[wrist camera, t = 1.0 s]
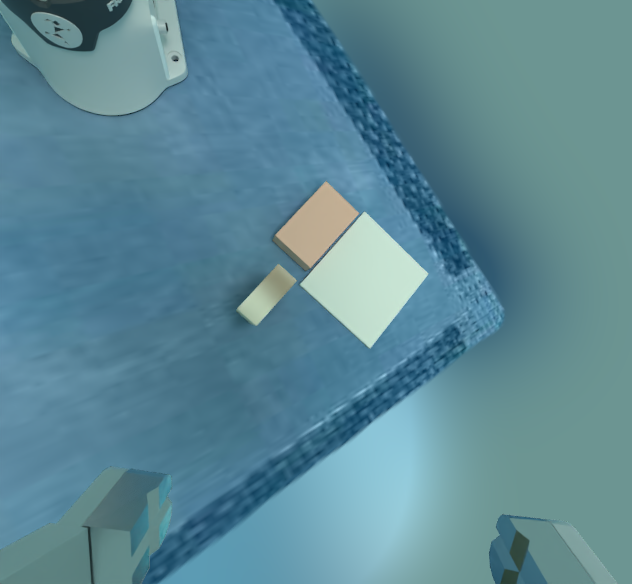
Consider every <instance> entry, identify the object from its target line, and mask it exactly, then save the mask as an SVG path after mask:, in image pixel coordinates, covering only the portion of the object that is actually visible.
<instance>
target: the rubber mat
mask: <svg viewBox="0 0 632 584" xmlns="http://www.w3.org/2000/svg"><path fill="white" fill-rule="evenodd" d="M427 275H428V273H427V272H426V271H425V270H424V269H423V268H422V267H421V266H420V265H419V264H418V263H417V262H416V261H415V260H414V259H413V258H412V257H411V256H410V255H409V254H408V253H406V252H405V251H404V250H403V249H402V248H401V247H400V246H399V245H398V244H397V243H396V242H395V241H394V240H393V239H392V238H391V237H390V236H389V235H388V234H387V233H386V232H385V231H384V230H383V229H382V228H381V227H380V226H379V225H378V224H377V223H376V222H375V221H374V220H373V219H372V218H371V217H370V216H369V215H368V214H367V213H366V212H363V213H362V215H361V216H360V217H359V218H358V219H357V220H356V221H355V222H354V224H353V225H352V226H351V227H350V228H349V229H348V230H347V232H346V233H345V234H344V235H343V236H342V237H341V238H340V239H339V241H338V242H337V243H336V244H335V245H334V246H333V247H332V248H331V250H330V251H329V252H328V253H327V254H326V255H325V256H324V257H323V259H322V260H321V261H320V262H319V263H318V264H317V265H316V266H315V268H314V269H313V270H312V271H311V272H310V273H309V274H308V276H307V277H306V278H305V279H304V280H303V281H302V282H301V283H300V286H301V287H302V288H303V289H304V290H305V291H306V292H308V293H309V294H310V295H311V296H312V297H313V298H314V299H315V300H316V301H317V302H318V303H320V304H321V305H322V306H323V307H324V308H325V309H326V310H327V311H328V312H329V313H331V314H332V315H333V316H334V317H335V318H336V319H337V320H338V321H339V322H340V323H342V324H343V325H344V326H345V327H346V328H347V329H348V330H349V331H350V332H351V333H352V334H354V335H355V336H356V337H357V338H358V339H359V340H360V341H361V342H362V343H363V344H365V345H366V346H367V347H368V348H371V347H372V345H373V344H374V343H375V342H376V340H377V339H378V338H379V337H380V335H381V334H382V333H383V331H384V330H385V329H386V328H387V326H388V325H389V324H390V322H391V321H392V320H393V319H394V317H395V316H396V315H397V314H398V312H399V311H400V310H401V308H402V307H403V306H404V305H405V303H406V302H407V301H408V299H409V298H410V297H411V296H412V294H413V293H414V292H415V291H416V289H417V288H418V287H419V285H420V284H421V283H422V282H423V280H424V279H425V278H426V276H427Z"/></svg>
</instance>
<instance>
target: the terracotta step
mask: <svg viewBox="0 0 632 584" xmlns="http://www.w3.org/2000/svg"><path fill="white" fill-rule="evenodd" d="M358 214H359V213H358V212H357V211H356V210H355V209H354V208H353V207H352V206H351V205H350V204H349V203H348V202H347V201H346V200H345V199H344V198H343V197H342V196H341V195H340V194H339V193H338V192H337V191H336V190H335V189H334V188H333V187H332V186H331V185H330V184H329V183H328V182H327V181H326V182H325V183H324V184H323V185H322V186H321V187H320V188H319V189H318V190H317V191H316V192H315V193H314V195H313V196H312V197H311V198H310V199H309V200H308V201H307V202H306V203H305V204H304V205H303V206H302V207H301V208H300V209H299V210H298V211H297V212H296V214H295V215H294V216H293V217H292V218H291V219H290V220H289V221H288V222H287V223H286V224H285V225H284V226H283V227H282V228H281V229H280V230H279V231H278V233H277V234H276V235H275V236H274V238H273V240H272V241H273V242H275V243H276V244H277V245H278V246H279V247H280V248H281V249H282V250H283V251H284V252H285V253H286V254H288V255H289V256H290V257H291V258H292V259H293V260H294V261H295V262H296V263H297V264H298V265H300V266H301V267H302V268H303V269H304V270H305V271H307V270H308V269H310V268H311V267H312V266H313V265H314V264H315V262H316V261H317V260H318V259H319V258H320V257H321V256H322V255H323V253H324V252H325V251H326V250H327V249H328V248H329V247H330V246H331V244H332V243H333V242H334V241H335V240H336V239H337V238H338V237H339V235H340V234H341V233H342V232H343V231H344V230H345V229H346V228H347V226H348V225H349V224H350V223H351V222H352V221H353V220H354V219H355V217H356V216H357V215H358Z"/></svg>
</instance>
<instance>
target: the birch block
mask: <svg viewBox="0 0 632 584" xmlns="http://www.w3.org/2000/svg"><path fill="white" fill-rule="evenodd" d="M296 281H297V280H296V279H295V278H294V277H292V276H291V275H290V274H289V273H288V272H287V271H286V270H285V269H284V268H283V267H282V266H280V265H279V264H278V265H277V266H276V267H275V268H274V269H273V270H272V271H271V272H270V273H269V275H268V276H267V277H266V278H265V279H264V280H263V281H262V282H261V283H260V284H259V285H258V286H257V288H256V289H255V290H254V291H253V292H252V293H251V294H250V295H249V296H248V297H247V298H246V300H245V301H244V302H243V303H242V304H241V305H240V306H239V307H238V308H237V310H236V311H237V312H238V313H239V314H240V315H241V316H242V317H243V318H245V319H246V320H247V321H248V322H249V323H250V324H252V325H255V326H257V325H258V324H259V323H260V322H261V320H262V319H263V318H264V317H265V316H266V315H267V314H268V313H269V312H270V310H271V309H272V308H273V307H274V306H275V305H276V304H277V303H278V301H279V300H280V299H281V298H282V297H283V296H284V295H285V294H286V292H287V291H288V290H289V289H290V288H291V287H292V286H293V285H294V283H295V282H296Z"/></svg>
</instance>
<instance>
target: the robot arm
mask: <svg viewBox="0 0 632 584" xmlns="http://www.w3.org/2000/svg"><path fill="white" fill-rule="evenodd" d="M0 13H1V14H2V16H3V17H4V19H5V21H6V22H7V24H8V25H9V27H10V28H11V30H12V31H13V34H12V37H11V42H12V44H13V46H14V47H15V49H16V50H17V52H18V53H19V54H20V55H21V56H22V57H23V58H25V59H26V60H27V61H29V62H30V63H32V64H33V65H34V66H36V67H37V68H38V69H39V70H40V72H41V73H42V75H43V76H44V78H45V79H46V81H47V82H48V84H49V85H50V86H51V87H52V89H53V90H54V91H55V92H56V93H57V94H58V95H60V96H61V97H62V98H63V99H65V100H66V101H67V102H69V103H71V104H72V105H74V106H76V107H78V108H80V109H83V110H86V111H88V112H92V113H96V114H102V115H123V114H128V113H132V112H136V111H138V110H140V109H143V108H144V107H146V106H148V105H149V104H151V103H152V102H153V101H154V100H155V99H156V98H157V97H158V96H159V95H160V94H161V93H162V92H163V91H164V90H165V89H166V88H167V87H169V86H172V85H174V84H176V83H179V82H181V81H182V80H184V79H185V78H186V77H187V75H188V69H187V64H186V58H185V52H184V47H183V41H182V36H181V30H180V24H179V19H178V13H177V8H176V2H175V0H0ZM175 59H176V60H178V61H177V62H174V61H173V60H175ZM171 489H172V476H170V475H169V474H162V473H156V472H149V471H142V470H135V469H125V468H119V467H112V466H110V467H108V468H107V469H105V470H104V471H103V472H102V473H101V474H100V475H99V476H98V477H97V478H96V479H95V481H94V482H93V483H92V484H91V485H90V486H89V487H88V488H87V490H86V491H85V492H84V493H83V494H82V495H81V496H80V498H79V499H78V500H77V501H76V502H75V503H74V504H73V505H72V507H71V508H70V509H69V510H68V511H67V512H66V513H65V514H64V516H63V517H62V518H61V519H60V520H59V521H58V522H57V523H56V524H54V523H49V524H47V525H45V526H43V527H42V528H40V529H38V530H36V531H34V532H32V533H30V534H29V535H27V536H25V537H23V538H21V539H19V540H18V541H16V542H14V543H12V544H10V545H8V546H7V547H5V548H3V549H1V550H0V584H141V583H142V581H143V579H144V577H145V575H146V573H147V571H148V569H149V556H150V555H151V554H152V553H154V552H155V551H156V550H157V549H159V548H160V546H161V544H162V542H163V540H164V538H165V536H166V533H167V530H168V527H169V523H170V519H171V513H172V502H171V501H170V499H169V498H168V497H167V496H168V494H169V492H170V490H171ZM496 528H497V530H498V532H499V534H500V535H499V536H498V537H497V538H496V539H494V540H493V541H492V542H491V547H490V551H489V559H490V568H491V572H492V576H493V579H494V581H495V584H618V583H617V582H616V581H615V579H614V578H613V577H612V576H611V574H610V573H609V572H608V570H607V569H606V568H605V567H604V565H603V564H602V563H601V561H600V560H599V559H598V557H597V556H596V555H595V554H594V552H593V551H592V550H591V548H590V547H589V546H588V545H587V543H586V542H585V541H584V540H583V538H582V537H581V536H580V534H579V533H578V532H577V531H576V529H575V528H574V527H573V526H572V525H571V524H570V523H568V522H567V521H559V520H550V519H540V518H531V517H522V516H513V515H504V514H502V515H501V516H500V517H499V519H498V521H497V525H496Z"/></svg>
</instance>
